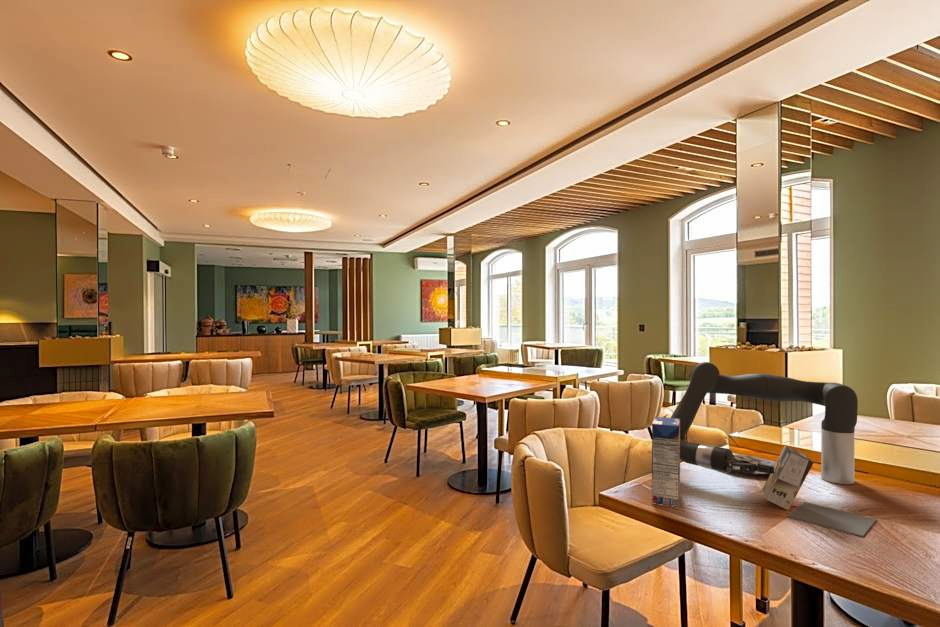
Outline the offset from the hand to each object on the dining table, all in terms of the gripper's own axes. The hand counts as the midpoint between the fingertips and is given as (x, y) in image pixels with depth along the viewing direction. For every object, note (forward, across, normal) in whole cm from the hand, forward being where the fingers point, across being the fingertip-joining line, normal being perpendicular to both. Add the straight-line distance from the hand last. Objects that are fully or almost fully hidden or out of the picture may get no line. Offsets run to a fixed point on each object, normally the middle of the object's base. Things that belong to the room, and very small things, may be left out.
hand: (773, 470), depth 151 cm
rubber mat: (+15, 0, +10) cm, 18 cm away
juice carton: (-23, -21, +10) cm, 33 cm away
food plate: (-19, +32, +10) cm, 39 cm away
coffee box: (0, 0, +9) cm, 9 cm away
